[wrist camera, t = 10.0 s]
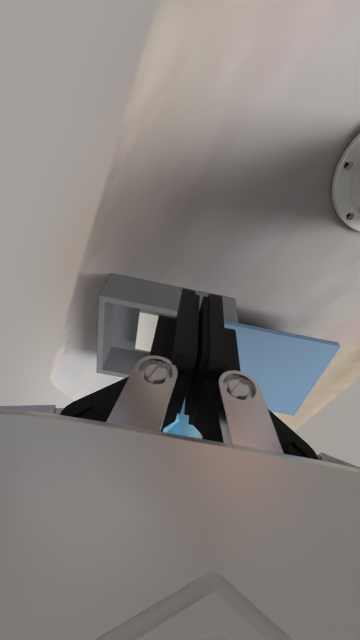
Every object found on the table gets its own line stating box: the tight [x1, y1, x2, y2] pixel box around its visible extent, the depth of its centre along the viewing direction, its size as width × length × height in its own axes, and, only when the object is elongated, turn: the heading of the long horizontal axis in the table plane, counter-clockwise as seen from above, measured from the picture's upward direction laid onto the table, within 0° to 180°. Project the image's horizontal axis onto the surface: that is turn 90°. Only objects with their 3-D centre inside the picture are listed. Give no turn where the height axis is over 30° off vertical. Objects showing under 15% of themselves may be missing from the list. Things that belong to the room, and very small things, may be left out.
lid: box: [224, 320, 340, 415], centre depth 41 cm, size 18×14×3 cm
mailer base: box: [97, 274, 238, 378], centre depth 44 cm, size 18×14×6 cm
